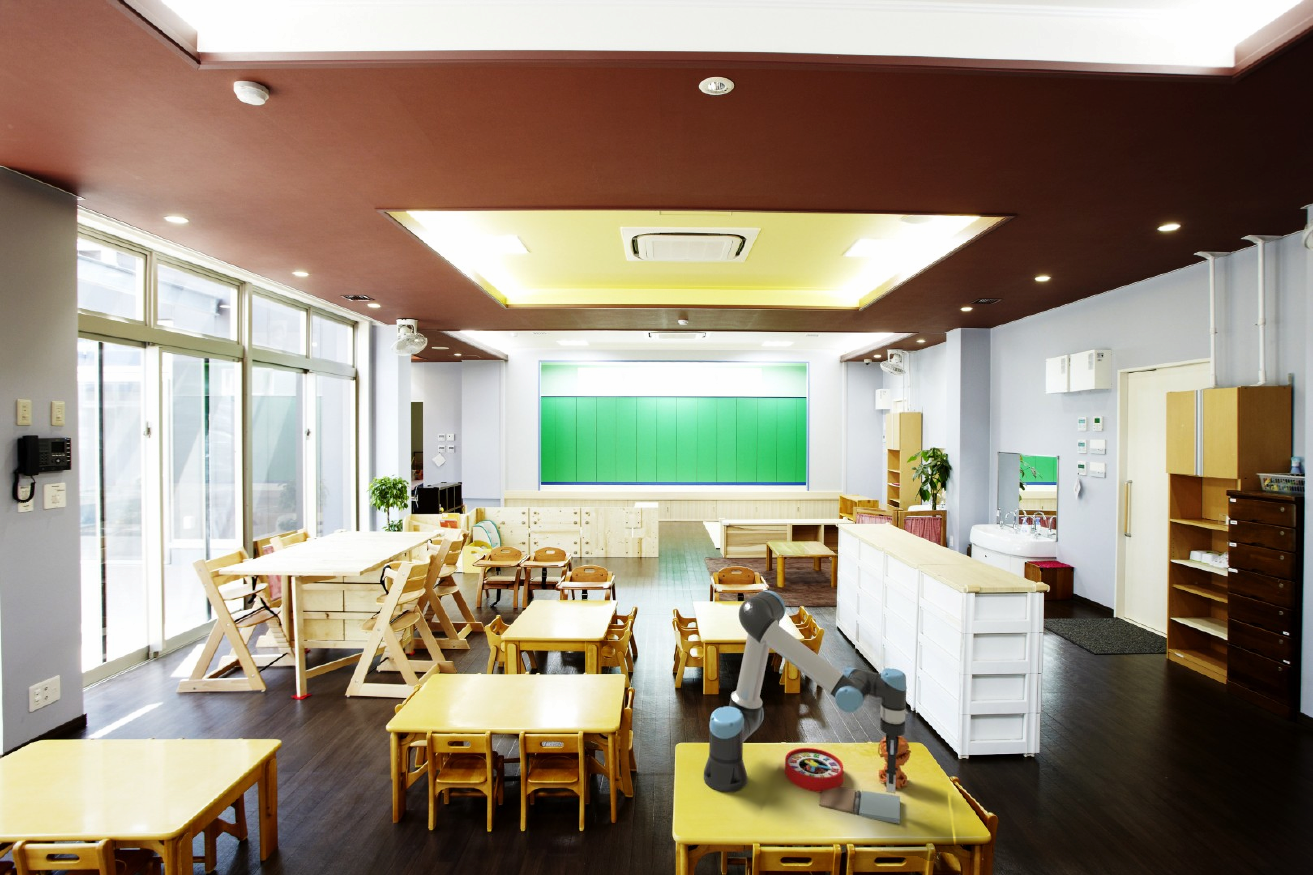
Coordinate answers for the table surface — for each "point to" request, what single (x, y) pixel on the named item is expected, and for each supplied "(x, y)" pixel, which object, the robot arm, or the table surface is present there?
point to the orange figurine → (900, 761)
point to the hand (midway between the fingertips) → (890, 791)
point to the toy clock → (813, 769)
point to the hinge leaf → (879, 806)
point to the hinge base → (840, 799)
